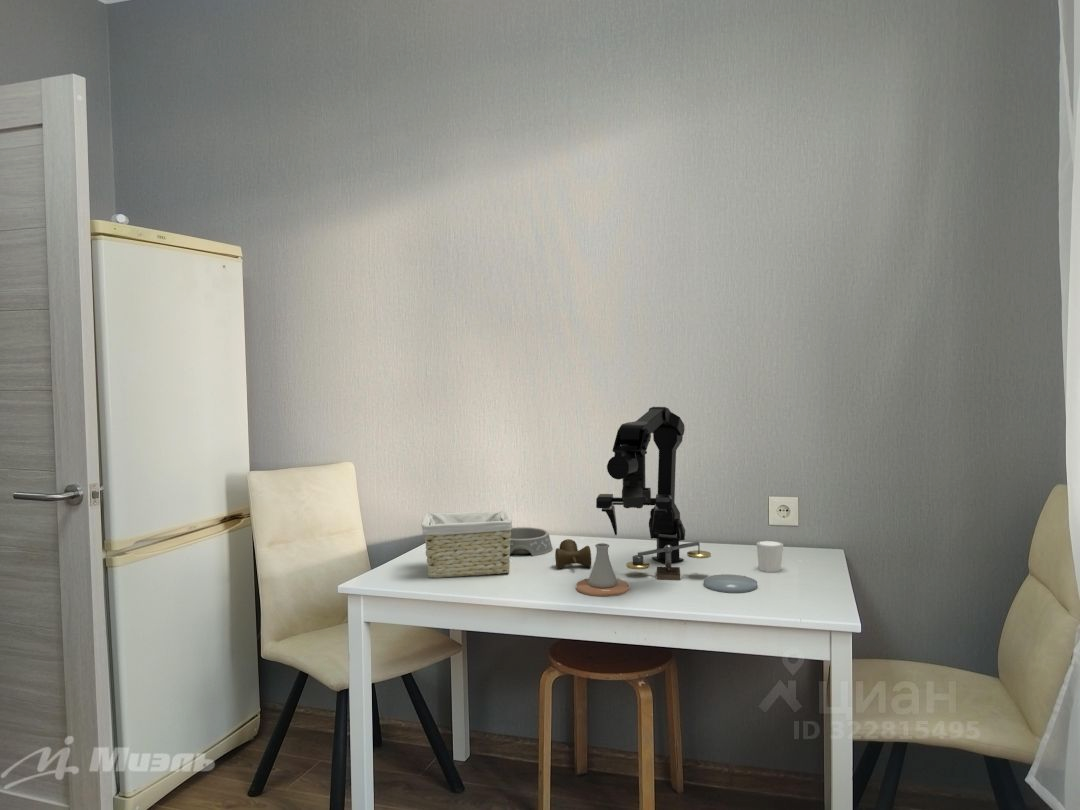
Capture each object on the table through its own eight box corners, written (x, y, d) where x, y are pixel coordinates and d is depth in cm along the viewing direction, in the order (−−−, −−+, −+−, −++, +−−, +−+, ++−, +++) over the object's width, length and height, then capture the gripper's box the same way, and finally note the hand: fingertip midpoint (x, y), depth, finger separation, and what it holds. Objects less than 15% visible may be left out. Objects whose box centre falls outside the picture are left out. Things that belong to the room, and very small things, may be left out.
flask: (623, 584, 203) (623, 544, 202) (602, 590, 198) (602, 549, 198) (602, 579, 208) (602, 539, 208) (581, 584, 204) (581, 544, 203)
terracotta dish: (567, 585, 206) (567, 581, 206) (611, 578, 212) (611, 575, 212) (593, 599, 195) (593, 595, 195) (639, 591, 201) (639, 587, 200)
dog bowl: (552, 557, 237) (552, 538, 237) (488, 557, 237) (488, 539, 237) (552, 543, 254) (552, 526, 254) (493, 544, 254) (492, 526, 254)
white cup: (784, 573, 215) (784, 546, 215) (757, 572, 217) (757, 545, 216) (782, 566, 222) (782, 540, 222) (755, 565, 223) (755, 539, 223)
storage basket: (422, 580, 214) (420, 524, 213) (423, 564, 230) (422, 512, 229) (514, 576, 217) (513, 520, 216) (509, 560, 233) (508, 509, 232)
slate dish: (693, 582, 208) (693, 578, 208) (733, 575, 213) (733, 571, 213) (726, 595, 196) (726, 591, 196) (768, 588, 202) (768, 584, 202)
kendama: (585, 556, 238) (594, 572, 218) (551, 558, 238) (558, 575, 218) (584, 536, 238) (593, 550, 218) (551, 538, 238) (557, 552, 218)
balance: (625, 578, 212) (625, 543, 212) (627, 570, 220) (626, 536, 220) (711, 580, 209) (711, 545, 208) (710, 572, 217) (709, 538, 216)
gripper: (594, 478, 201) (594, 541, 201) (671, 479, 198) (672, 543, 199) (597, 471, 212) (598, 532, 212) (671, 472, 209) (671, 533, 210)
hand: (634, 535), depth 208 cm, fingers open, 9 cm apart
